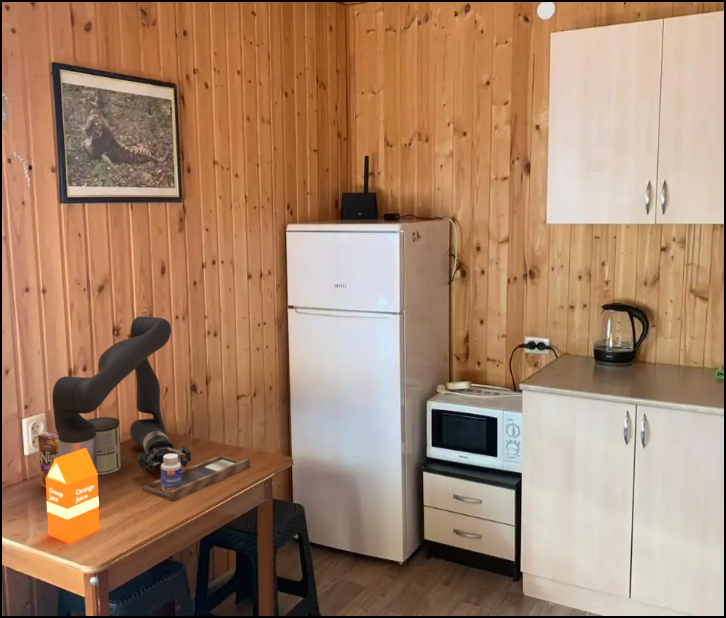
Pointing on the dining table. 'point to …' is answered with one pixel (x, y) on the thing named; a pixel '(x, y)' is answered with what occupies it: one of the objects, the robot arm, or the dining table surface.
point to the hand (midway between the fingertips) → (169, 465)
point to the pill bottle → (170, 473)
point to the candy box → (47, 453)
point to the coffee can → (107, 444)
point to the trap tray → (207, 473)
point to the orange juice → (72, 497)
